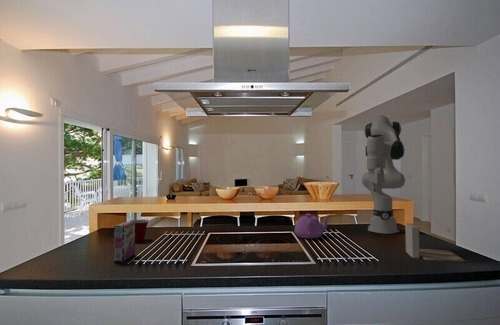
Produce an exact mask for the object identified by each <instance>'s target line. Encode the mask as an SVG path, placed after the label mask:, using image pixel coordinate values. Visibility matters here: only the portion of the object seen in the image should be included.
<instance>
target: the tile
mask: <svg viewBox="0 0 500 325" xmlns="http://www.w3.org/2000/svg"><path fill="white" fill-rule="evenodd" d="M404 230H405V252H406V253H407V254H408V255H409V257H411V258H412V259H421V257H420V249H421V248H420V247H421V246H420V241H421V240H420V227H419V226H417V225H415V224H414V223H409V222H408V223H407V222H406V223H405V229H404Z"/></svg>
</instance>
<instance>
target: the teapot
mask: <svg viewBox="0 0 500 325" xmlns="http://www.w3.org/2000/svg"><path fill="white" fill-rule="evenodd" d="M330 216H331V214H328V215H326V216H324V217H323V218H324V219H323V224H321V222H320V220H319V219H318V217H316V216H313V215H312V214H311V213H305V216H301V217H299V218H298V220H297V221H296V224H295V226H294V233H295V235H296V236H297V237H299V238H301V239H314V238H315V239H318V238H320V237H321V236H322V235H323V234H324V231H326V230H327V228H328V218H329V217H330Z"/></svg>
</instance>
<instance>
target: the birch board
mask: <svg viewBox="0 0 500 325" xmlns="http://www.w3.org/2000/svg"><path fill="white" fill-rule="evenodd" d="M420 259H422V260H424V261H432V262H448V263H464V262H465V263H466V260H465V259H464V258H462V257H460V256H459V255H457V254H456V253H454V252H452V251H451V250H449V249H448V250H447V249H430V248H429V249H428V248H425V249H424V248H420Z"/></svg>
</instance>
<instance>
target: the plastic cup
mask: <svg viewBox="0 0 500 325" xmlns="http://www.w3.org/2000/svg"><path fill="white" fill-rule="evenodd" d="M129 222H135V242H136V243H139V242H144V241H145V238H146V234H147V226H148V224H149V222H150V220H148V219H147V220H146V219H131V220H130V221H129Z"/></svg>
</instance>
